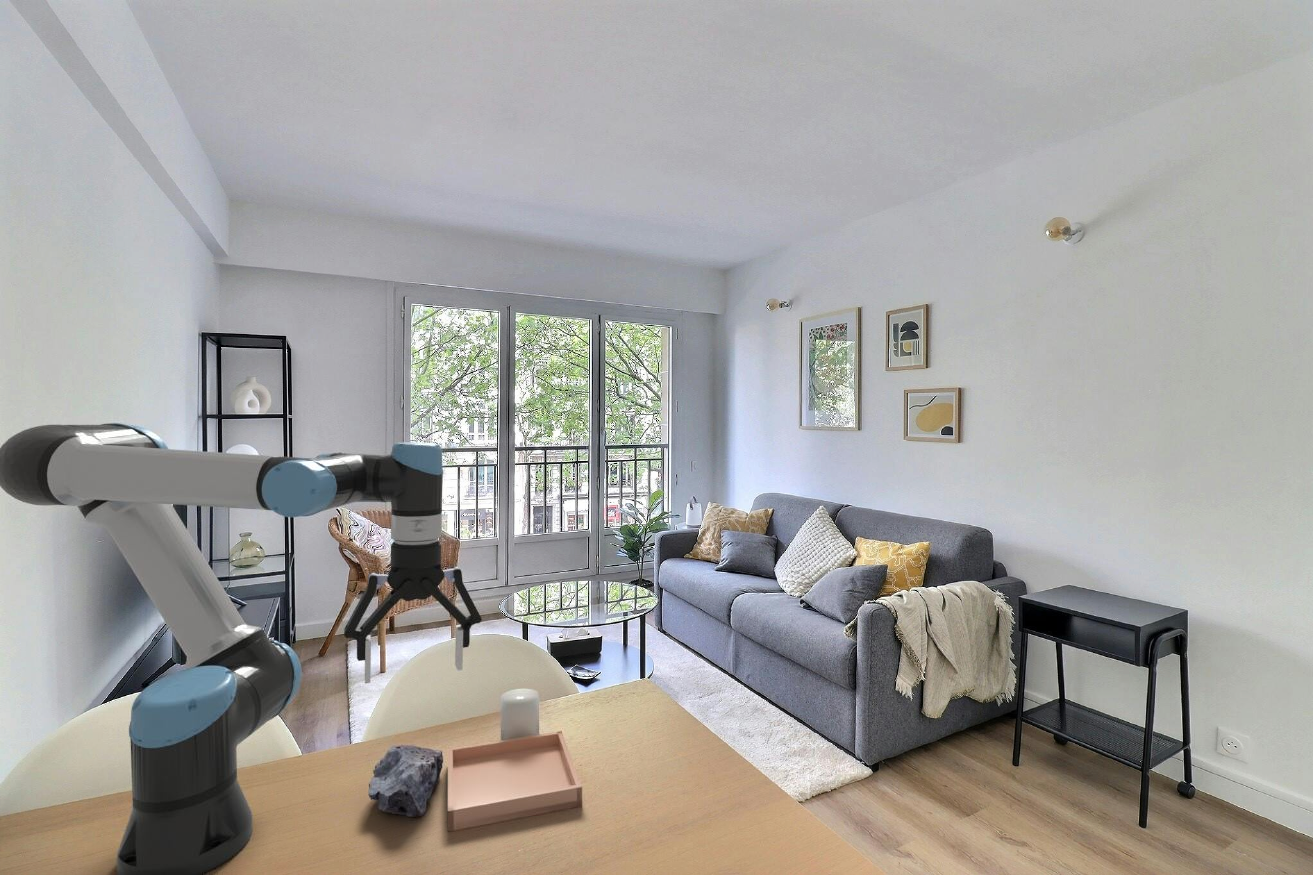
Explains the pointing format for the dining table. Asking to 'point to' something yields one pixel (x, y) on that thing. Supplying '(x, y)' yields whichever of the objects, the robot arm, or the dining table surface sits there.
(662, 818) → the dining table surface
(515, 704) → the white rounded cylinder
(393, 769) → the rock
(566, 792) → the dish
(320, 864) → the dining table surface
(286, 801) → the dining table surface
